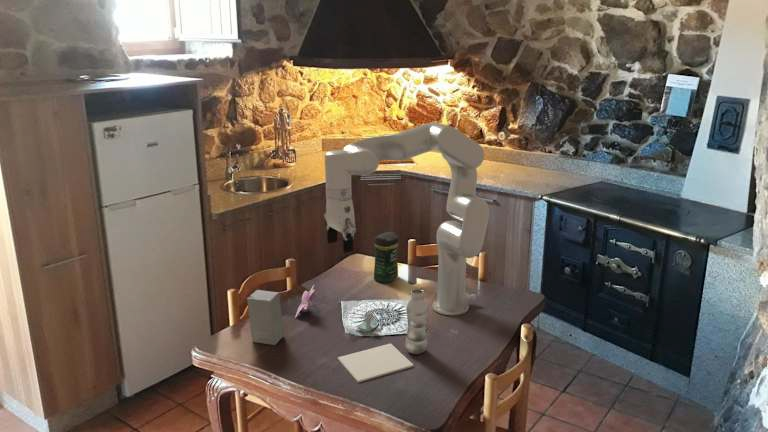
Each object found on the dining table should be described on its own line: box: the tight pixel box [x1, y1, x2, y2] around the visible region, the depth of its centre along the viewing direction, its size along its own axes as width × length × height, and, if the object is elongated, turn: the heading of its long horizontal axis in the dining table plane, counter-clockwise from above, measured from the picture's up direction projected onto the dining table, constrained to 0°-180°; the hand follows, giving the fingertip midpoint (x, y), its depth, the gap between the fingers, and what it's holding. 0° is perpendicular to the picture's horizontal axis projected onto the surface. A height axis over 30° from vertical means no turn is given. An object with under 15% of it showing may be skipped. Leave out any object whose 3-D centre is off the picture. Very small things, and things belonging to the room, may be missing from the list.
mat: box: [337, 342, 414, 383], centre depth 181 cm, size 18×14×1 cm
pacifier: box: [355, 312, 379, 332], centre depth 200 cm, size 7×6×6 cm
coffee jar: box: [373, 231, 400, 283], centre depth 237 cm, size 10×8×19 cm
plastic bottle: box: [404, 288, 429, 355], centre depth 184 cm, size 6×7×20 cm
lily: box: [295, 285, 320, 319], centre depth 211 cm, size 12×12×10 cm
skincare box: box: [246, 289, 285, 346], centre depth 191 cm, size 8×7×16 cm
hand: (340, 246), depth 186 cm, fingers open, 9 cm apart
